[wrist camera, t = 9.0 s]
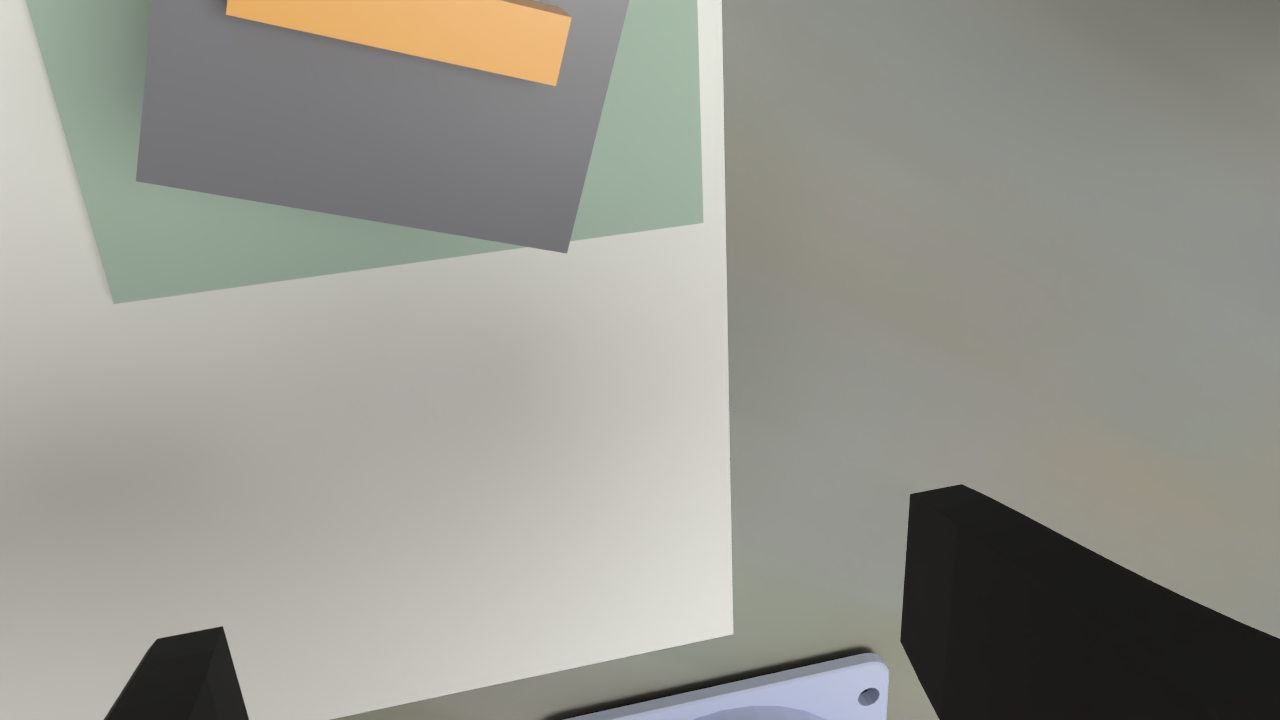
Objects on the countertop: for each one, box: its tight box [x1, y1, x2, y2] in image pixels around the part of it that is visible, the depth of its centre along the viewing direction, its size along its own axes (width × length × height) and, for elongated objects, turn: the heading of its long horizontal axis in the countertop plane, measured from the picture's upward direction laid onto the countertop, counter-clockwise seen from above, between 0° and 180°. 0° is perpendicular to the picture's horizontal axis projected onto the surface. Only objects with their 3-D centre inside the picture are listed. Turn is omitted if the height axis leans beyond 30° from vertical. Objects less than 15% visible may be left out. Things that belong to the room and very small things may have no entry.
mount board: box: [0, 0, 733, 720], centre depth 15 cm, size 19×20×6 cm
